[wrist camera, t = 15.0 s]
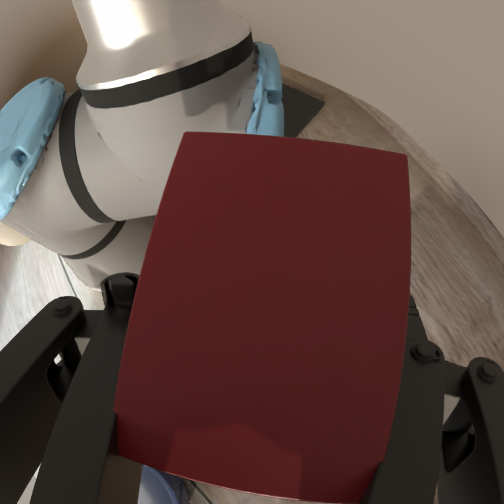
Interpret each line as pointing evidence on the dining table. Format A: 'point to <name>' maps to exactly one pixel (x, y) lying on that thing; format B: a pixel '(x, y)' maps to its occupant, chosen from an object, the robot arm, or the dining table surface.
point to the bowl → (161, 488)
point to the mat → (297, 110)
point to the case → (270, 317)
